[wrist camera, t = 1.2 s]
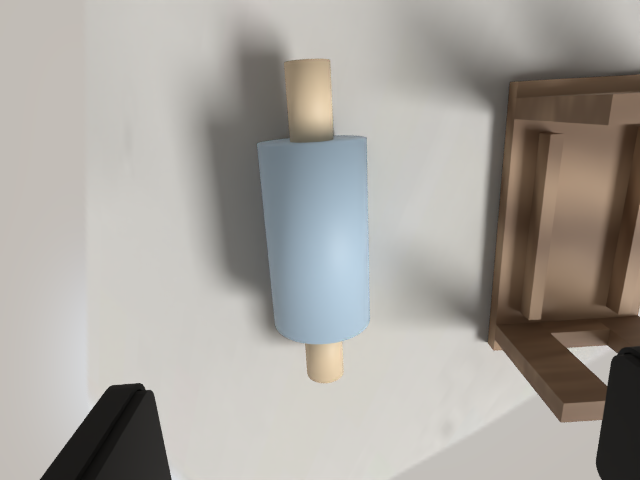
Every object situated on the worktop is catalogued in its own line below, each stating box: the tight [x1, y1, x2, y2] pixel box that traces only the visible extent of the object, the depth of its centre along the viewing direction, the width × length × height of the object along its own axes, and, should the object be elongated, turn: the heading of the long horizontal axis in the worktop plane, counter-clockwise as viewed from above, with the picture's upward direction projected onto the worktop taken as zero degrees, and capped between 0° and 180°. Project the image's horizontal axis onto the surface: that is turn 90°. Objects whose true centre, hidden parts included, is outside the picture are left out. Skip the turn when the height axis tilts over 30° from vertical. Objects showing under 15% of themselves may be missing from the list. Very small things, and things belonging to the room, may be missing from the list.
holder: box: [488, 74, 640, 422], centre depth 23 cm, size 18×10×9 cm, turn 3°
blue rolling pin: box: [257, 59, 370, 383], centre depth 24 cm, size 19×6×6 cm, turn 3°
